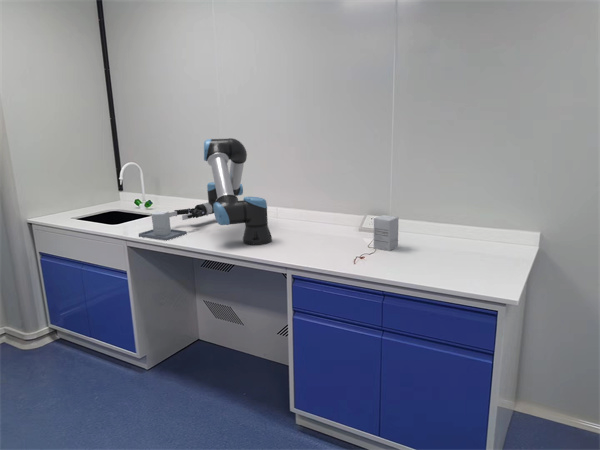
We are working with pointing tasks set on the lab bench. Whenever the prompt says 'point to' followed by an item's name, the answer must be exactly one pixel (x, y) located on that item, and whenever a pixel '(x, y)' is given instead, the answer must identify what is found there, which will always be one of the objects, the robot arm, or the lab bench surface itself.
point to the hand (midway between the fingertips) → (174, 216)
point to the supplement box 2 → (386, 232)
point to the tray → (170, 236)
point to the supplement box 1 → (161, 223)
